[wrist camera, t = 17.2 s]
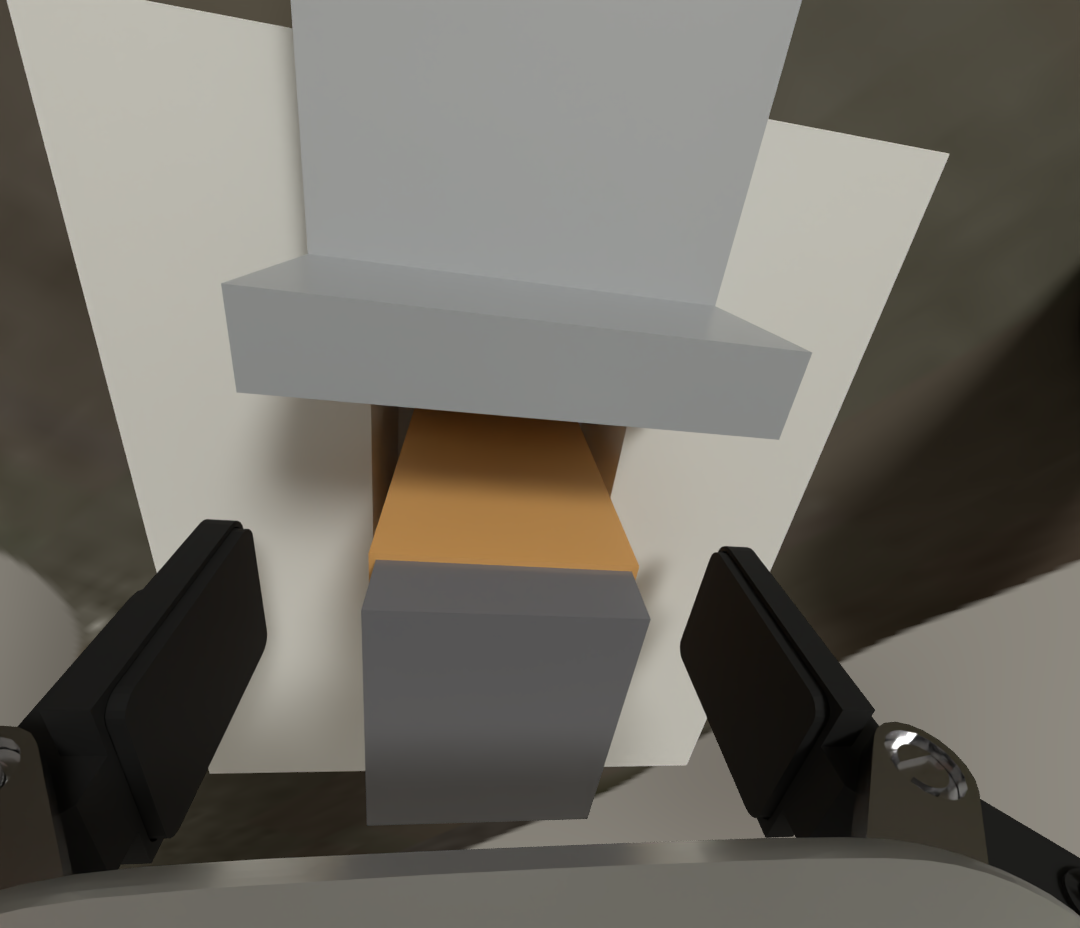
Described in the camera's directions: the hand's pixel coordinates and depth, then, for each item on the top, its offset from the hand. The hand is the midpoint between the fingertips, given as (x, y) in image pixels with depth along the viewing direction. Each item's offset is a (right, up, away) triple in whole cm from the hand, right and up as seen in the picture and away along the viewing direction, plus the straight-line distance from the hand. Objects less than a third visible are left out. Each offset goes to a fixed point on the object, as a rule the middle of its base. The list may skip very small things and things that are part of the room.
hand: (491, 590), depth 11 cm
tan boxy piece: (-1, +3, +5) cm, 6 cm away
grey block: (+1, +8, -2) cm, 8 cm away
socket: (-1, +3, +6) cm, 7 cm away
